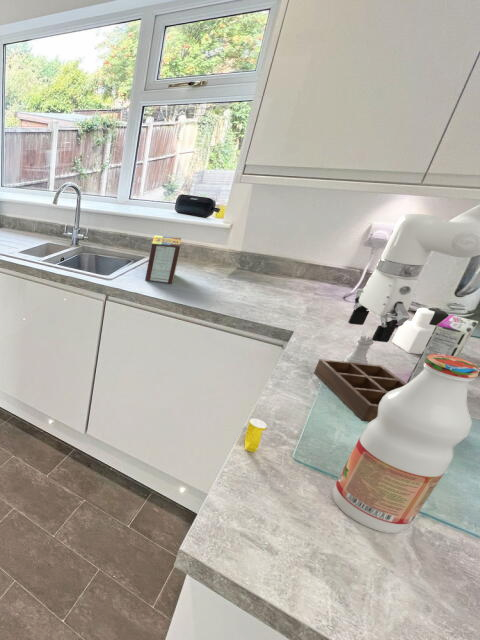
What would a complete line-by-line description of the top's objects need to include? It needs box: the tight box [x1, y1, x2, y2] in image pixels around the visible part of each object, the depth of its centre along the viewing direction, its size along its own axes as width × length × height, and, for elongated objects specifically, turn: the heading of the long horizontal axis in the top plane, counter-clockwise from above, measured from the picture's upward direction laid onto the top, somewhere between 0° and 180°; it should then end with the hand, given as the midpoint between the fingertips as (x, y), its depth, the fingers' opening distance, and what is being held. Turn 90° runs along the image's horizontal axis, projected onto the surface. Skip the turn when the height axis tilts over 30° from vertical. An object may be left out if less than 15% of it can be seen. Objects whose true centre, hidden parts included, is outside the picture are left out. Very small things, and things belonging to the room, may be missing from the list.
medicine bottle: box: [391, 306, 450, 355], centre depth 115 cm, size 7×7×12 cm
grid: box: [313, 358, 407, 423], centre depth 94 cm, size 13×20×4 cm
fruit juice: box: [332, 354, 480, 534], centre depth 61 cm, size 9×9×28 cm
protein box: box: [144, 234, 182, 285], centre depth 170 cm, size 10×15×16 cm
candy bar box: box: [406, 314, 479, 384], centre depth 98 cm, size 11×5×16 cm, turn 122°
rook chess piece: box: [343, 335, 375, 364], centre depth 107 cm, size 4×4×8 cm
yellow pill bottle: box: [244, 418, 268, 453], centre depth 79 cm, size 6×3×6 cm, turn 150°
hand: (366, 332), depth 105 cm, fingers open, 9 cm apart
